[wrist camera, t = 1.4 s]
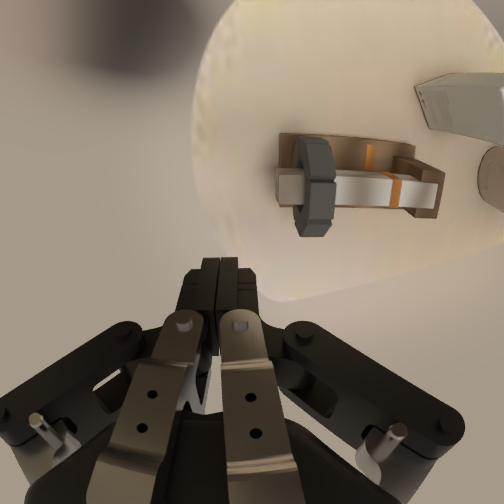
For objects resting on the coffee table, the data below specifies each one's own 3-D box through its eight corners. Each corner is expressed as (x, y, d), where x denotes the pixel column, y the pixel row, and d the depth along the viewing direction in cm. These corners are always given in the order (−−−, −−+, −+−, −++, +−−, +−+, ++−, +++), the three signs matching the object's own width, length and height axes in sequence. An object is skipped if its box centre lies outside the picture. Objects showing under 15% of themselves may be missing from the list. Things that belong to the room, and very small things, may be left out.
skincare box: (427, 128, 29) (513, 156, 16) (411, 83, 26) (499, 88, 13) (469, 111, 27) (552, 133, 14) (456, 69, 25) (541, 75, 12)
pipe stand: (409, 144, 30) (449, 159, 23) (400, 205, 34) (435, 233, 26) (270, 133, 30) (280, 143, 22) (269, 202, 33) (277, 233, 26)
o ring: (312, 133, 27) (339, 146, 20) (308, 213, 31) (329, 251, 24) (293, 133, 27) (313, 145, 20) (290, 213, 31) (306, 252, 24)
